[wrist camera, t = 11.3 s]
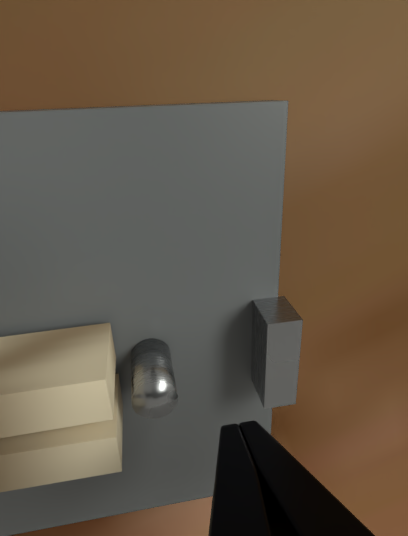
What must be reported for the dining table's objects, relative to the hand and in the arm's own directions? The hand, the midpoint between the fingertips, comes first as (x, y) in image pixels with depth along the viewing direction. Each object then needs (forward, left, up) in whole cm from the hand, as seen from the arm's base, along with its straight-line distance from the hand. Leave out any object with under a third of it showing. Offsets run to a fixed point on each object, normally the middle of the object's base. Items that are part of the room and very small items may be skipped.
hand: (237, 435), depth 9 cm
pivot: (0, 0, -4) cm, 4 cm away
